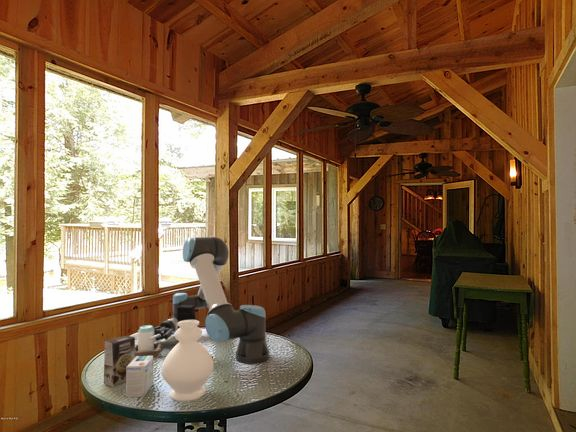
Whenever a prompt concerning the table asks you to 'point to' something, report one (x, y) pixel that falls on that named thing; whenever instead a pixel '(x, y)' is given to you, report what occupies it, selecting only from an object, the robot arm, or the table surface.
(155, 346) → the frame
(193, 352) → the decorative vase
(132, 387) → the light bulb box
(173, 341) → the dock pad
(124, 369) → the coffee box
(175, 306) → the robot arm
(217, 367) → the table surface
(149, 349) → the can
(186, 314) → the portable radio
